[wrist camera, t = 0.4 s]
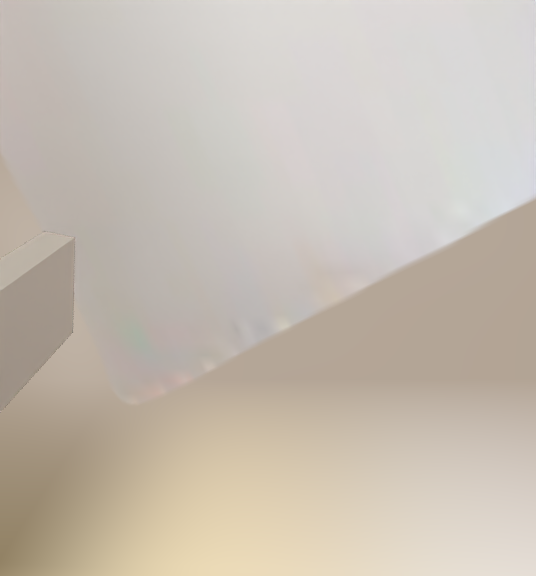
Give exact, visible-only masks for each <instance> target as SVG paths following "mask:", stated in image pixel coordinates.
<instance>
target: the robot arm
mask: <svg viewBox="0 0 536 576" xmlns="http://www.w3.org/2000/svg"><path fill="white" fill-rule="evenodd" d="M74 257H75V237H70V236H65V235H61V234H56V233H51V232H46V231H44V232H42V233H41V234H39V235H38V236H36V237H34V238H32V239H31V240H29V241H28V242H26V243H24V244H23V245H21V246H19V247H18V248H16V249H14V250H13V251H11V252H10V253H8V254H6V255H5V256H3V257H1V258H0V412H1V411H2V410H3V409H4V408H5V407H6V406H7V405H8V403H9V402H10V401H11V400H12V399H13V398H14V397H15V396H16V395H17V394H18V392H19V391H20V390H21V389H22V388H23V387H24V386H25V385H26V384H27V382H28V381H29V380H30V379H31V378H32V377H33V376H34V375H35V373H36V372H37V371H38V370H39V369H40V368H41V367H42V366H43V365H44V364H45V363H46V361H47V360H48V359H49V358H50V357H51V356H52V355H53V354H54V353H55V351H56V350H57V349H58V348H59V347H60V346H61V345H62V344H63V342H64V341H65V340H66V339H67V338H68V337H69V336H70V335H71V334H72V333H73V306H74Z"/></svg>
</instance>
